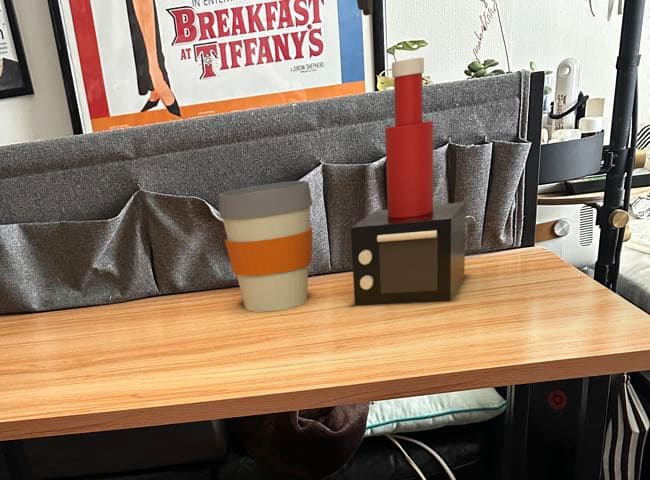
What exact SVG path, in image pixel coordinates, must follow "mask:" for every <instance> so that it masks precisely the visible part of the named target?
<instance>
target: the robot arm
mask: <svg viewBox="0 0 650 480" xmlns="http://www.w3.org/2000/svg"><path fill="white" fill-rule="evenodd" d="M356 5H357V8H358V10H359V11H362V14H363V16H371V15H373V13H374V3H373V0H356Z"/></svg>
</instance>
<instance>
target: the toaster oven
mask: <svg viewBox="0 0 650 480" xmlns="http://www.w3.org/2000/svg"><path fill="white" fill-rule="evenodd" d="M466 203H467V202H466V201H461V202H460V201H459V202H451V203H441V204H433V212H432V213H430V214H426V215H422V216H416V217H408V218H389V217H388V209H380V210H375V211H373V212H372V213H370V214H369V215H367V216H365V217H364V218H363V219H362V220H360V221H358V222H357V223H355V224H354V225H353V226H351V227H350V240H351V241H350V243H351V244H350V245H351V259H352V260H351V261H352V276H353V280H352V281H353V295H354V298H353V299H354V307H357V306H376V305H378V306H379V305H396V304H398V305H399V304H417V303H439V302H440V303H441V302H451V301H452V299H453V298H454V296H455V294H456V292H457V290H458V289H459V286H460V285H461V283H462V281H463V279H464V278H465V266H466V265H465V263H466V261H465V260H466V259H465V257H466V211H467V210H466V207H467V206H466V205H467V204H466Z"/></svg>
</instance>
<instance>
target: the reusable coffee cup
mask: <svg viewBox="0 0 650 480" xmlns="http://www.w3.org/2000/svg"><path fill="white" fill-rule="evenodd" d="M218 206H219V218H220V219H221V220H222V222H223V226H224V230H225V234H226V238H225V240H224V242H225V246H226V250H227V254H228V257H229V258H228V259H229V262H230V265H231V270H232V273H233V274H234V275H236V277H237V281H238V285H239V289H240V292H241V293H240V294H241V297H242V301H243V305H244V308H245V310H247V311H248V312H249V311H250V312H255V313H256V312H257V313H267V312H276V311H277V312H278V311H284V310H288V309H292V308H296V307H299V306H301V305H304V304H306V303H307V301H308V290H309V289H308V283H309V265H310V264H311V263H312V256H313V255H312V254H313V253H312V252H313V251H312V250H313V227H312V226H311V225H310V222H311V206H313V199H312V193H311V187H310V183H309V180H293V181H292V180H291V181H282V182H274V183H267V184H260V185H253V186H248V187H247V186H246V187H242V188H236V189H233V190H228V191H225V192H222V193H219V194H218Z"/></svg>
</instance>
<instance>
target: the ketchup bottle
mask: <svg viewBox="0 0 650 480" xmlns="http://www.w3.org/2000/svg"><path fill="white" fill-rule="evenodd" d="M424 69H425V58H424V57H415V58H408V59H402V60H398V61H392V62H391V77H392V79H393V91H394V125H392V126H387V127H385V129H384V133H385V134H384V135H385V137H384V138H385V139H384V140H385V165H386V167H385V170H386V197H387V198H386V201H387V210H388V217H389V218H408V217H416V216H422V215H426V214H430V213H432V212H433V205H434V121H433V120H427V121H423V74H424V72H425V70H424Z"/></svg>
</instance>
